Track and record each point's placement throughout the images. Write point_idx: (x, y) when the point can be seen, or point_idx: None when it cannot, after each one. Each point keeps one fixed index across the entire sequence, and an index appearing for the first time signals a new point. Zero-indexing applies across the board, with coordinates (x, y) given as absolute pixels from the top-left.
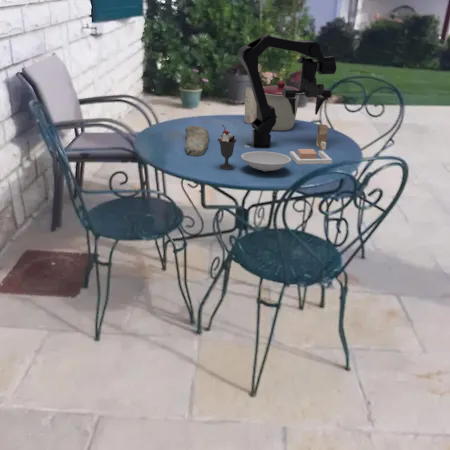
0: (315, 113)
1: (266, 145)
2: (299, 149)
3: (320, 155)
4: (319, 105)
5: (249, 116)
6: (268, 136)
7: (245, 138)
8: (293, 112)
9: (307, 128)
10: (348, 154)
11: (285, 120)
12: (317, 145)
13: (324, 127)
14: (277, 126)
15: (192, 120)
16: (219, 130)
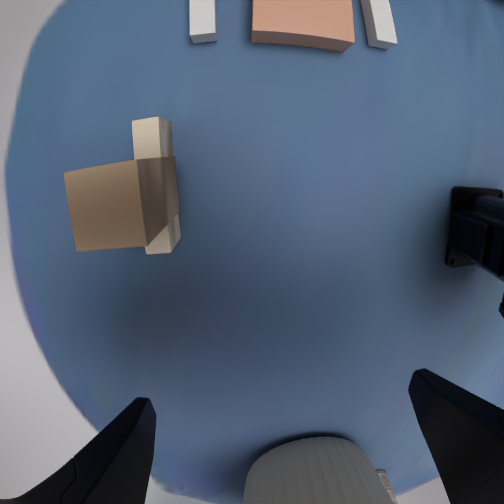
0: (153, 416)
1: (466, 202)
2: (346, 31)
3: (215, 5)
4: (79, 476)
5: (386, 487)
6: (490, 218)
7: (476, 329)
8: (443, 379)
9: (189, 461)
10: (54, 69)
11: (306, 469)
12: (177, 214)
13: (98, 167)
14: (333, 445)
15: None
16: (486, 395)
